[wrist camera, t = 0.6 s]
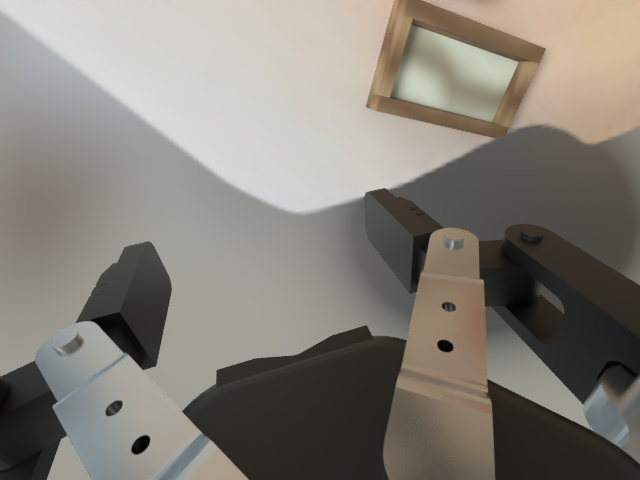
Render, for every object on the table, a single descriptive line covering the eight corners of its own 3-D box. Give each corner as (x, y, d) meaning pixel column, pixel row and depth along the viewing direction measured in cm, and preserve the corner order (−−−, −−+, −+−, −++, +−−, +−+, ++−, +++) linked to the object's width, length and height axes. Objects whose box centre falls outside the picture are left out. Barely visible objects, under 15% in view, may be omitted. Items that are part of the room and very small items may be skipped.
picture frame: (394, 0, 31) (409, -5, 28) (524, 49, 37) (545, 48, 34) (365, 107, 35) (376, 110, 33) (485, 134, 41) (502, 139, 39)
